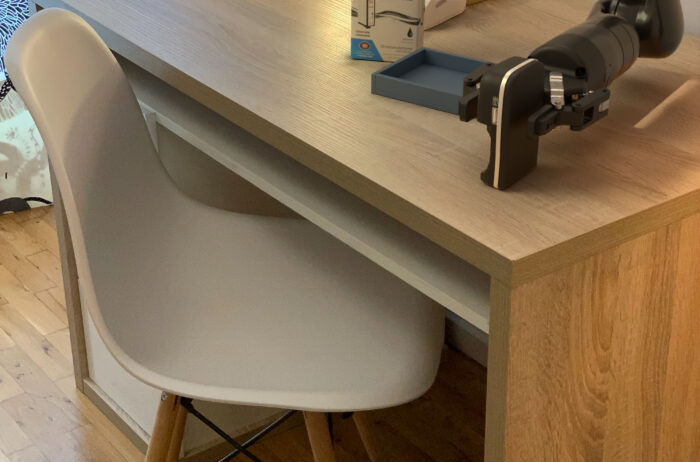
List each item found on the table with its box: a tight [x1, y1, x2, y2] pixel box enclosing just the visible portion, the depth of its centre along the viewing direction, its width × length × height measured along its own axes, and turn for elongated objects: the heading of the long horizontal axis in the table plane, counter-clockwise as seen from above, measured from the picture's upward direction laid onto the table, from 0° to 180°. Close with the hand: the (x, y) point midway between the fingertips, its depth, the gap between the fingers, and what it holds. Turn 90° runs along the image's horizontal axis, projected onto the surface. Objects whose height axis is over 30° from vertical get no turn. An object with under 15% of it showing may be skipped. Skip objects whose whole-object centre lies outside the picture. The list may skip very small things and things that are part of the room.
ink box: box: [350, 0, 425, 63], centre depth 130 cm, size 9×5×12 cm, turn 76°
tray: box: [370, 46, 499, 116], centre depth 122 cm, size 13×11×2 cm
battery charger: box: [476, 55, 545, 190], centre depth 101 cm, size 7×4×11 cm, turn 142°
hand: (496, 120), depth 99 cm, fingers open, 6 cm apart
